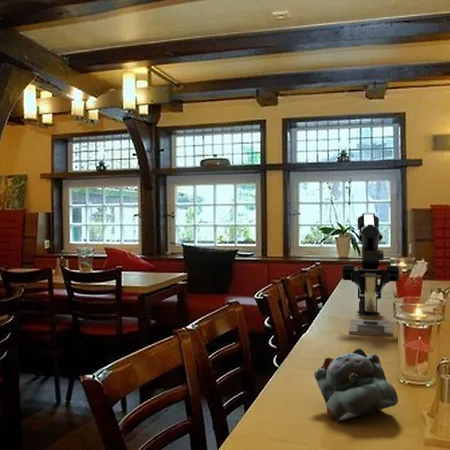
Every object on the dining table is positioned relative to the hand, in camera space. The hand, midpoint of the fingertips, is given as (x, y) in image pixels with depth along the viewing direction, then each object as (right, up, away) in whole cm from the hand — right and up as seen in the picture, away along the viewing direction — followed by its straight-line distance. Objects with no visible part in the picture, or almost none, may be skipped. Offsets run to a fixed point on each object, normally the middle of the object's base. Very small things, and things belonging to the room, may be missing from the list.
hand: (370, 292), depth 179 cm
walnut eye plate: (+2, -13, +6) cm, 15 cm away
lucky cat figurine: (-23, -16, -72) cm, 77 cm away
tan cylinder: (0, -6, +2) cm, 6 cm away
